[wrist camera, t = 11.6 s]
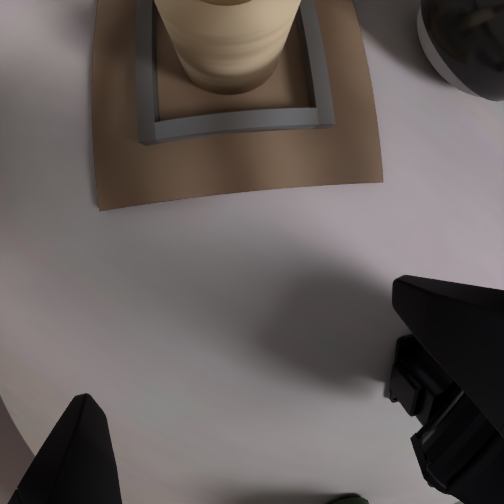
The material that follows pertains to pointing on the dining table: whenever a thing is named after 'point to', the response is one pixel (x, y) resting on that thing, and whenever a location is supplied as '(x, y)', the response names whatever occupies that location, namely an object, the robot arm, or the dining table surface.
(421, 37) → the black egg-shaped body
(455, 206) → the dining table surface
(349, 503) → the cream and green trophy
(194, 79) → the wooden peg
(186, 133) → the board
